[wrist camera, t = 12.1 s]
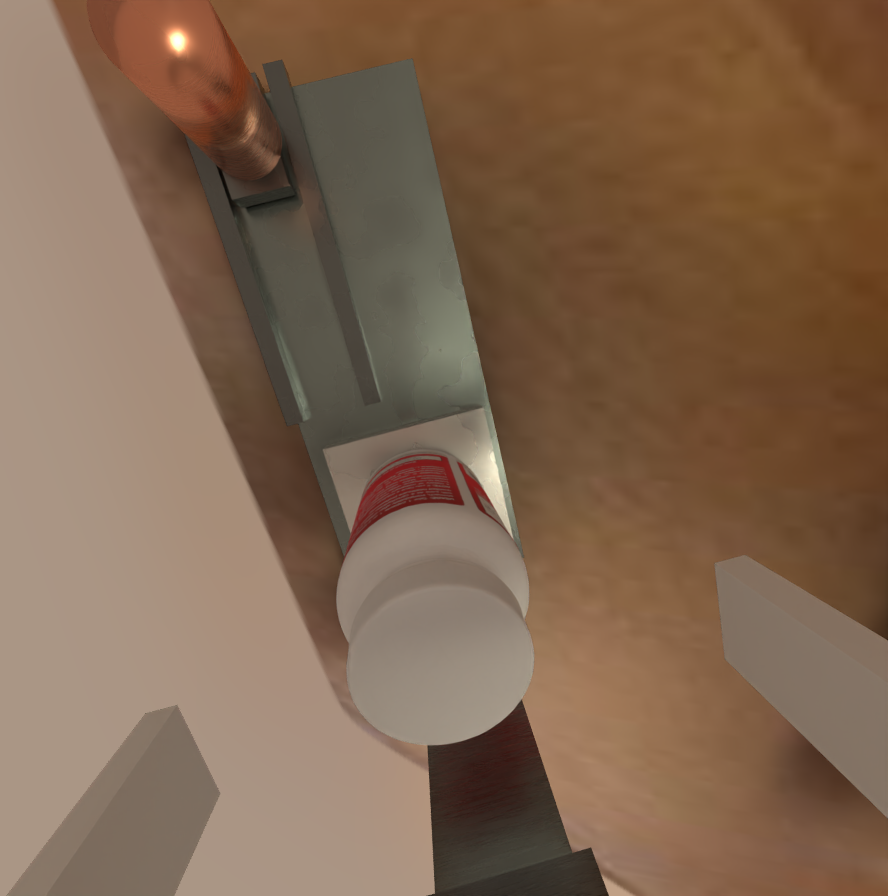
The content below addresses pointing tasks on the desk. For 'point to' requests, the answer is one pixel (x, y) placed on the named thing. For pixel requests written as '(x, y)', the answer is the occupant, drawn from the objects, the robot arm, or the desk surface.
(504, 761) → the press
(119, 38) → the lever
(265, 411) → the desk surface
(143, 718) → the robot arm
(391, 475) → the pill bottle
